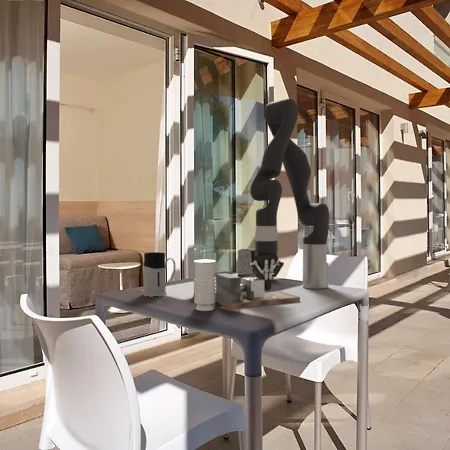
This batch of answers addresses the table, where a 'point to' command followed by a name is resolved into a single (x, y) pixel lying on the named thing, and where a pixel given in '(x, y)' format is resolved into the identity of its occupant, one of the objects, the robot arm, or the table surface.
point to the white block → (252, 286)
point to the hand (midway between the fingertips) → (266, 290)
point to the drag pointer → (250, 293)
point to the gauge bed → (232, 298)
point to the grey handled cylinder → (155, 274)
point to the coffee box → (246, 262)
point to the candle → (204, 284)
